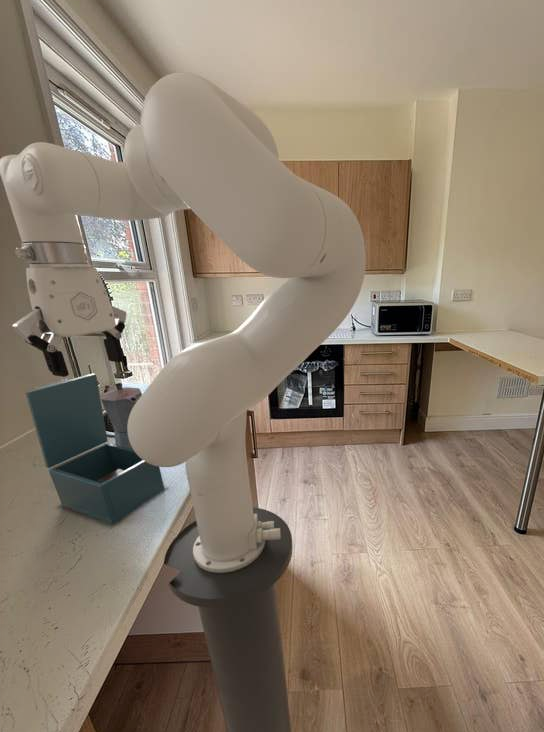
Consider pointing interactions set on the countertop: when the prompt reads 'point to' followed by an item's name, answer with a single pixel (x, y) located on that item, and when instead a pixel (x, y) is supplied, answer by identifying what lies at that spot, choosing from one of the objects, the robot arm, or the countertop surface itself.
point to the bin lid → (67, 417)
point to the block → (110, 475)
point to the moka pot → (120, 410)
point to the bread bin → (106, 482)
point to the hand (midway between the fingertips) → (90, 368)
